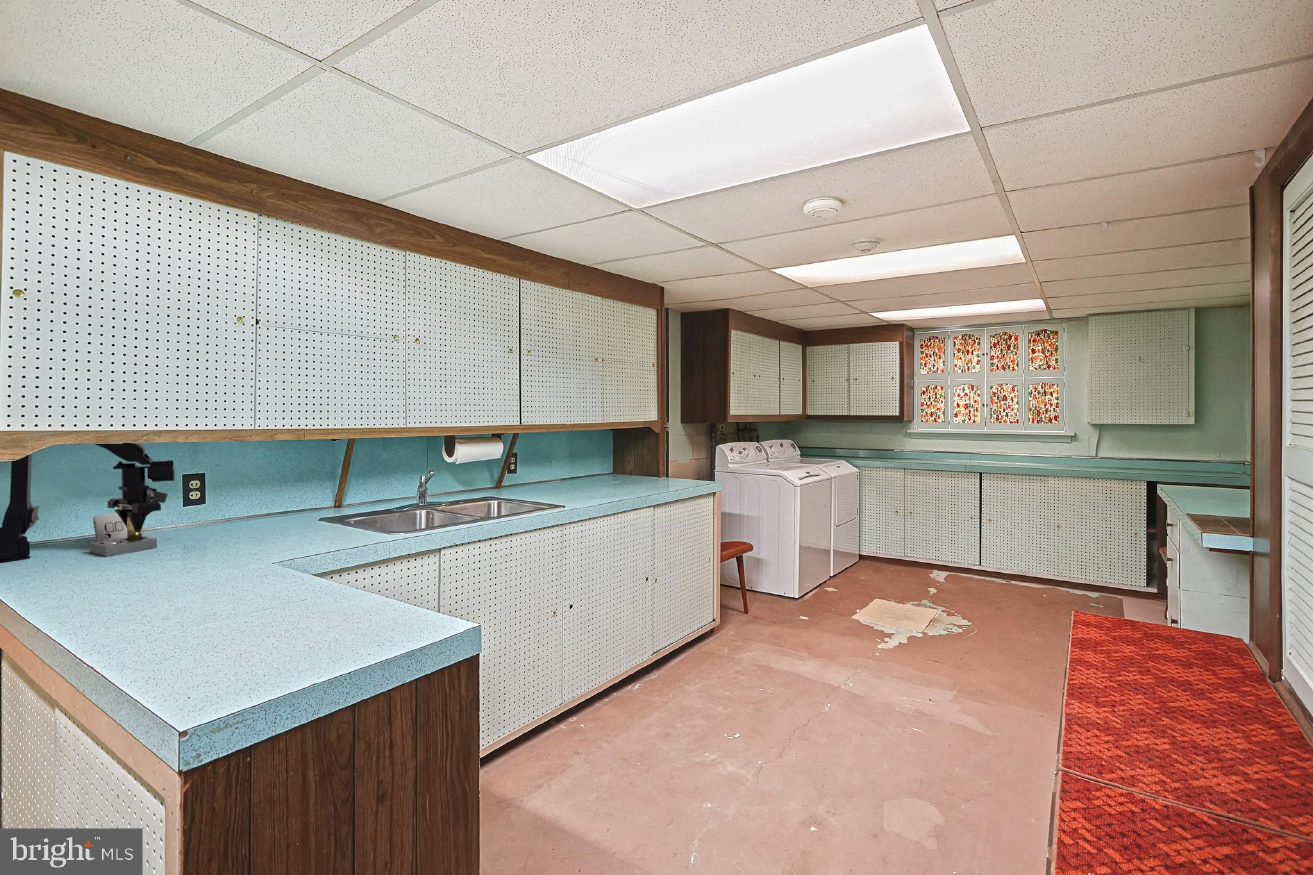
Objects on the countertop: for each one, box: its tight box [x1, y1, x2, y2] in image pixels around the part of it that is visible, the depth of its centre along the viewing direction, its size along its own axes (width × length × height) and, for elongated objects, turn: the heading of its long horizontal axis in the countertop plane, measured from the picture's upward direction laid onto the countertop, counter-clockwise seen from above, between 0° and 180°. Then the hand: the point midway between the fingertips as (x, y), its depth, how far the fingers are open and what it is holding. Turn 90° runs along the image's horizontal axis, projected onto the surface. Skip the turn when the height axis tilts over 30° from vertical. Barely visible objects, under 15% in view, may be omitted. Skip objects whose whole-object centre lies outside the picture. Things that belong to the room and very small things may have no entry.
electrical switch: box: [92, 512, 127, 542], centre depth 205 cm, size 9×5×9 cm, turn 152°
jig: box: [88, 535, 158, 558], centre depth 192 cm, size 13×10×3 cm
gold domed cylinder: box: [127, 516, 143, 539], centre depth 194 cm, size 4×4×7 cm
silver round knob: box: [104, 540, 120, 545], centre depth 189 cm, size 4×4×4 cm
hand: (134, 531), depth 194 cm, fingers closed on gold domed cylinder, 4 cm apart
